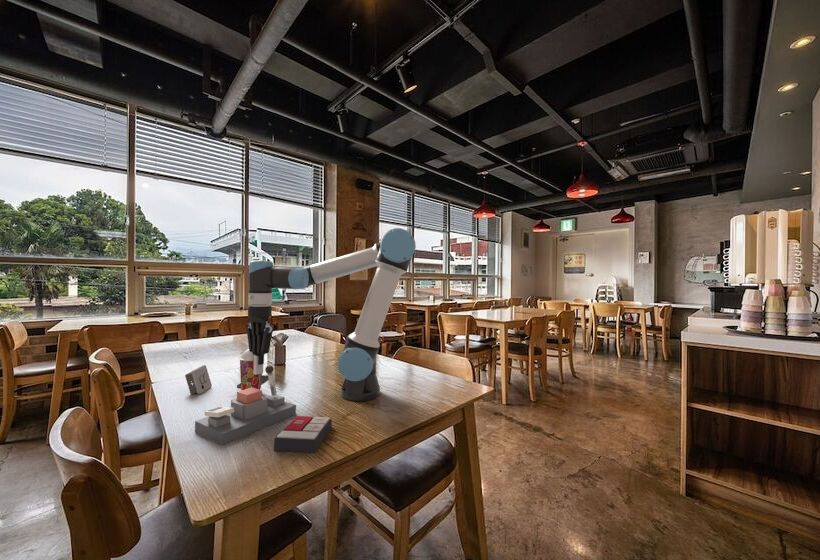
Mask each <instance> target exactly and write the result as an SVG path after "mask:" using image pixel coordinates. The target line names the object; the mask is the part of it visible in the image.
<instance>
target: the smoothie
mask: <svg viewBox="0 0 820 560" xmlns="http://www.w3.org/2000/svg"><path fill="white" fill-rule="evenodd" d="M239 369H240V370H239V371H240V373H239V374H240V383H241V388H240V391H241V390H245V389H248V388H251V387H253V388H256V389H259V390H262V389H261V388H262V384H261V380H262V375H263V373H261V374H257V375H255V374H253V370H254V363H253V354H252V352H250V351H249V348H247V349H246V350H244V351H243V352H242V354H241V356H240V357H239Z"/></svg>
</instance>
